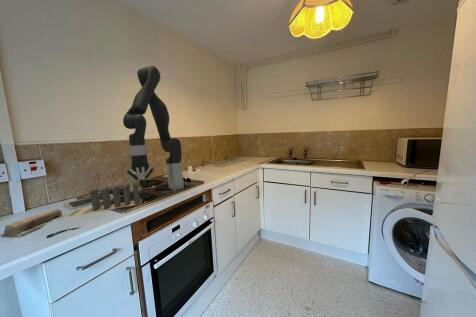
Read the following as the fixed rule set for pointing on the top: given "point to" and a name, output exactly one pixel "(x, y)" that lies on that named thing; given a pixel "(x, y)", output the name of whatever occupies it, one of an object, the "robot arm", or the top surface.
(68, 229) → the chef's knife
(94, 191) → the domino
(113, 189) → the domino
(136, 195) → the domino
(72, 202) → the picture frame
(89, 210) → the oak board
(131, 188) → the skincare box
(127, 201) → the domino
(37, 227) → the packaged product
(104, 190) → the domino
